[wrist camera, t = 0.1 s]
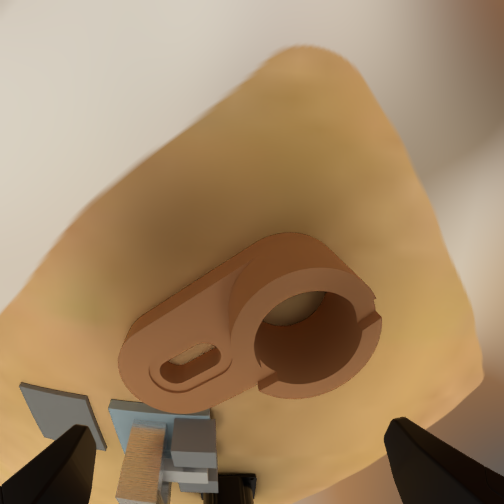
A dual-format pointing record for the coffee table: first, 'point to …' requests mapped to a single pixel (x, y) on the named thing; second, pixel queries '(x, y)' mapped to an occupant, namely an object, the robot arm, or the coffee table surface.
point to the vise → (176, 443)
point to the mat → (60, 412)
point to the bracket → (254, 330)
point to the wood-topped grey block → (145, 465)
